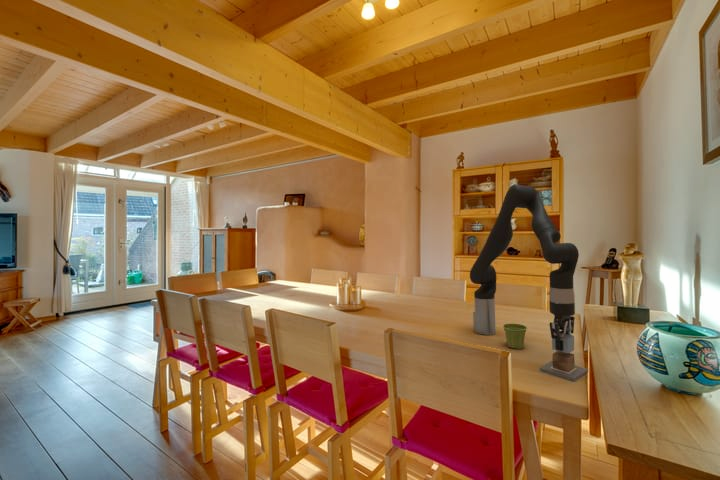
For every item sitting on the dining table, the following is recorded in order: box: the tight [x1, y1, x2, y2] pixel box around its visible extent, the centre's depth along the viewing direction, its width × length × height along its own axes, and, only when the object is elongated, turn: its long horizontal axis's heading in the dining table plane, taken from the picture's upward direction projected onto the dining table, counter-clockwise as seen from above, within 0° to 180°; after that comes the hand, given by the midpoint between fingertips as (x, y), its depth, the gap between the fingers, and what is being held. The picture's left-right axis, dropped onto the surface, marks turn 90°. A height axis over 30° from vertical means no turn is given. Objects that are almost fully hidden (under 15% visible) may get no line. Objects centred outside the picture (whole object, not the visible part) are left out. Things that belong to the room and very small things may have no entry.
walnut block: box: [551, 350, 576, 372], centre depth 112 cm, size 5×5×5 cm
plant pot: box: [502, 323, 528, 350], centre depth 137 cm, size 9×9×9 cm
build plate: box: [539, 360, 589, 382], centre depth 112 cm, size 11×11×1 cm
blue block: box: [551, 333, 575, 353], centre depth 112 cm, size 5×5×5 cm
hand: (563, 348), depth 112 cm, fingers closed on blue block, 5 cm apart
